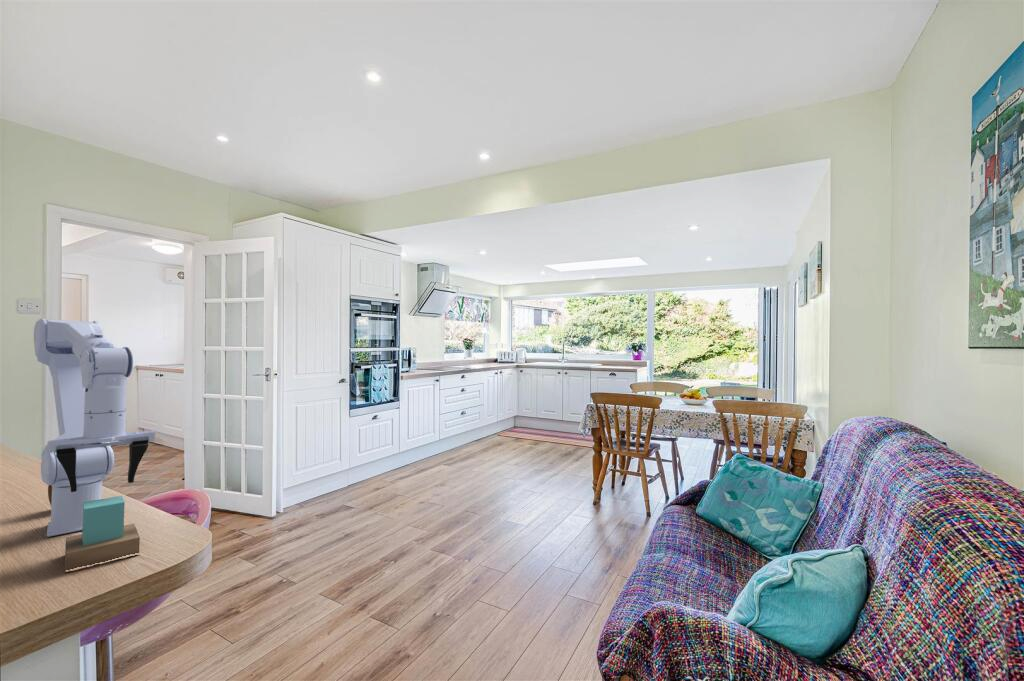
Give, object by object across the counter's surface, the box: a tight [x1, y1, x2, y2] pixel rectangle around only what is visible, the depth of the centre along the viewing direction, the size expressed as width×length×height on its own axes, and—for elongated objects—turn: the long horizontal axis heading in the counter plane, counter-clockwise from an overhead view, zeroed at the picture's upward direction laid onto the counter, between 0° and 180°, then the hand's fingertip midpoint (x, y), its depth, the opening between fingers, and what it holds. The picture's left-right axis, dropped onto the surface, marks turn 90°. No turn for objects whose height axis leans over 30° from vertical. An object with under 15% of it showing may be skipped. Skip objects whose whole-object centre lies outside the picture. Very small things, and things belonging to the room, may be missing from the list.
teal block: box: [81, 495, 125, 546], centre depth 76 cm, size 5×5×6 cm
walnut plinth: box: [64, 523, 141, 571], centre depth 76 cm, size 9×9×3 cm
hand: (103, 486), depth 81 cm, fingers open, 7 cm apart
